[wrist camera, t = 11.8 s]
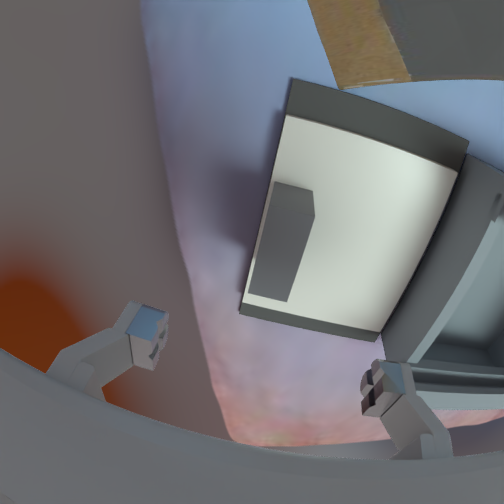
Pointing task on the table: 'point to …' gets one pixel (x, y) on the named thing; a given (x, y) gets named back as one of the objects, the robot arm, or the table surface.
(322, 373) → the table surface
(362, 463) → the robot arm
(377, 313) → the cover plate
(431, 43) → the sandwich container
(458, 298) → the grooved box
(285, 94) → the table surface
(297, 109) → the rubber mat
